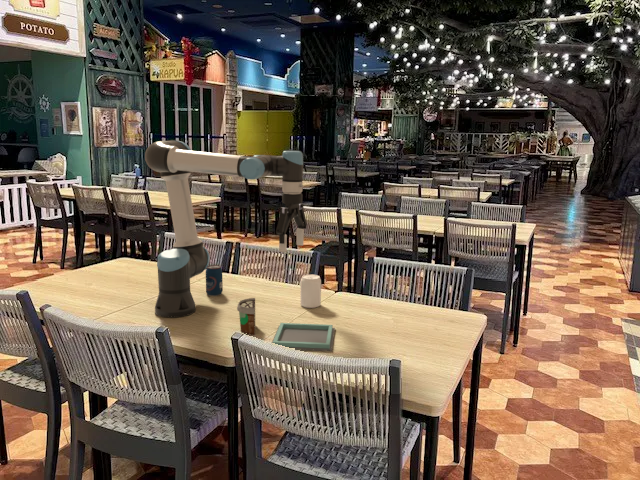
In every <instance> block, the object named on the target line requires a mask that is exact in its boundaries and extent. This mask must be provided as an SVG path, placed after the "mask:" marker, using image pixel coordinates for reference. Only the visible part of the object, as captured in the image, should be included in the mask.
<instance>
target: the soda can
mask: <svg viewBox="0 0 640 480" xmlns="http://www.w3.org/2000/svg"><path fill="white" fill-rule="evenodd" d="M223 288H224V286H223V269H222V266H221V265H219V264H213V265H212V264H211V265H208V267H207V268H206V269H205V291H206V292H205V293H206V294H207V295H208V296H209V297H218V296H221V295H222V293H223V290H224V289H223Z"/></svg>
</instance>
